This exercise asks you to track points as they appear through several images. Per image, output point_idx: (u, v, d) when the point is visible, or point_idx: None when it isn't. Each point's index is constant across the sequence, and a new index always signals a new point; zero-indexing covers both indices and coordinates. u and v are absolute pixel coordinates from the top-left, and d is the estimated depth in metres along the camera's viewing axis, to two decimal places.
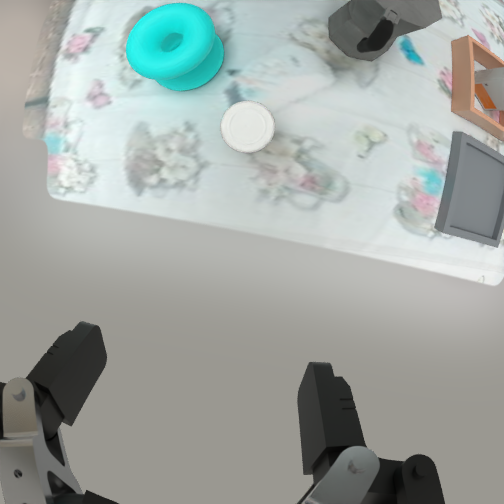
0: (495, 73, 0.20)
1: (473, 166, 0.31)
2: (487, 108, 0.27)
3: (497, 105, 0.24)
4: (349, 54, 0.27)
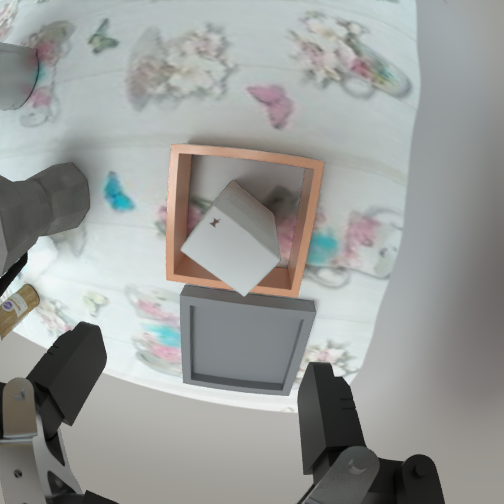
0: None
1: (221, 322, 0.34)
2: None
3: None
4: None
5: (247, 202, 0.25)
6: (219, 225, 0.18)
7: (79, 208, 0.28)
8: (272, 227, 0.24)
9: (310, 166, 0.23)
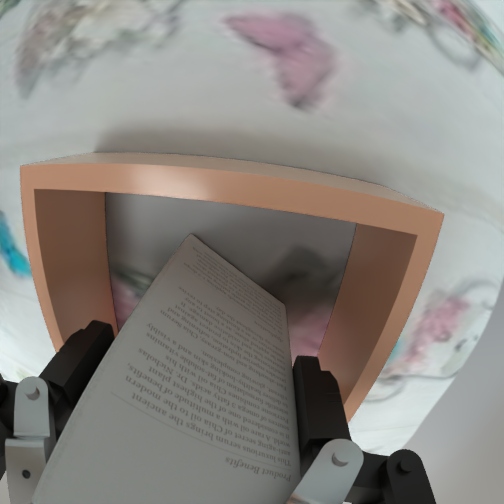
0: None
1: None
2: None
3: None
4: None
5: (216, 322, 0.09)
6: None
7: None
8: (285, 396, 0.08)
9: (409, 226, 0.07)
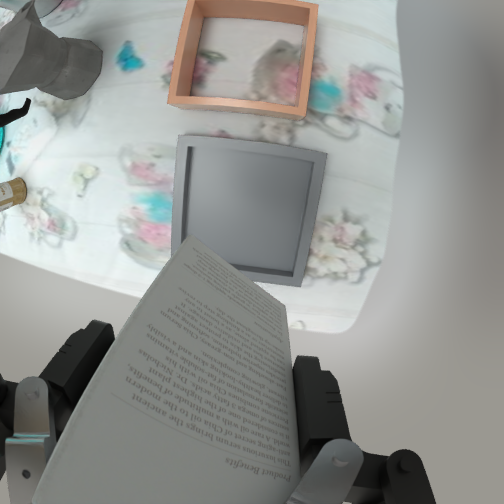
0: None
1: (221, 174, 0.30)
2: None
3: None
4: (63, 99, 0.26)
5: (216, 323, 0.09)
6: None
7: (90, 69, 0.24)
8: (284, 396, 0.08)
9: (306, 6, 0.19)
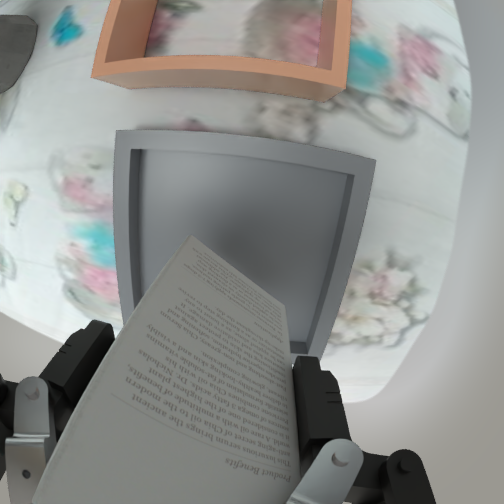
0: None
1: (190, 195, 0.17)
2: None
3: None
4: None
5: (216, 323, 0.09)
6: None
7: (17, 50, 0.11)
8: (284, 397, 0.08)
9: None
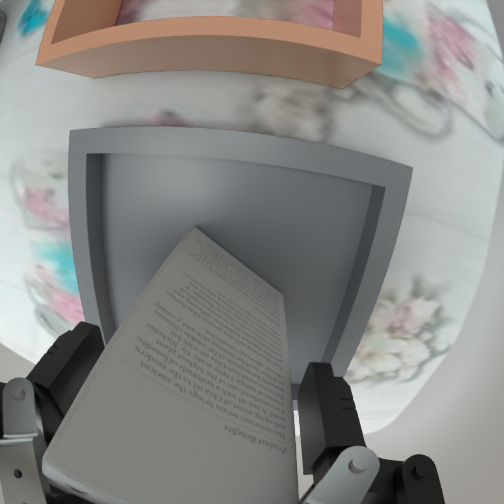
0: None
1: (165, 212, 0.13)
2: None
3: None
4: None
5: (218, 305, 0.09)
6: (93, 499, 0.03)
7: None
8: (281, 375, 0.09)
9: None
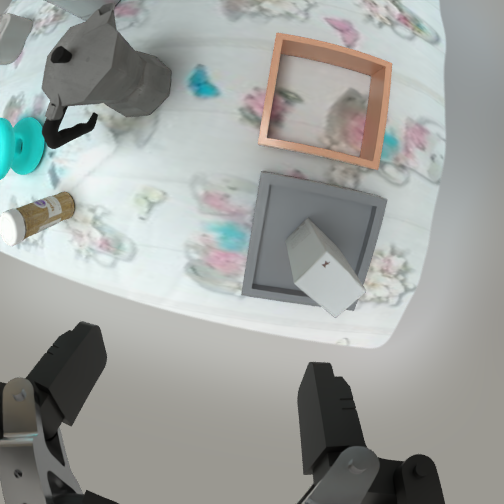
0: (302, 246, 0.28)
1: (295, 211, 0.34)
2: None
3: None
4: None
5: (327, 240, 0.30)
6: (328, 266, 0.23)
7: (162, 89, 0.28)
8: (347, 262, 0.29)
9: (382, 64, 0.23)
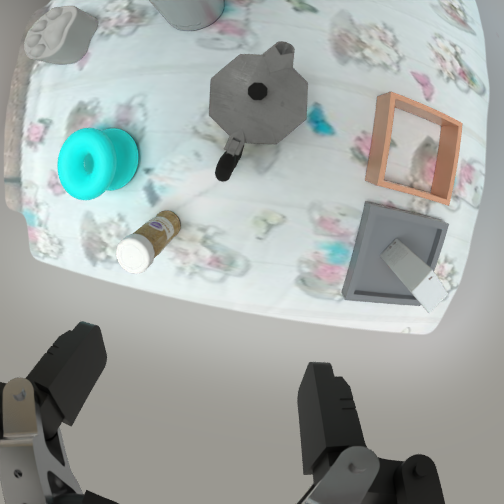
0: (405, 263, 0.35)
1: (388, 233, 0.40)
2: None
3: None
4: None
5: None
6: (431, 279, 0.30)
7: None
8: None
9: (457, 124, 0.29)
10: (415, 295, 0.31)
